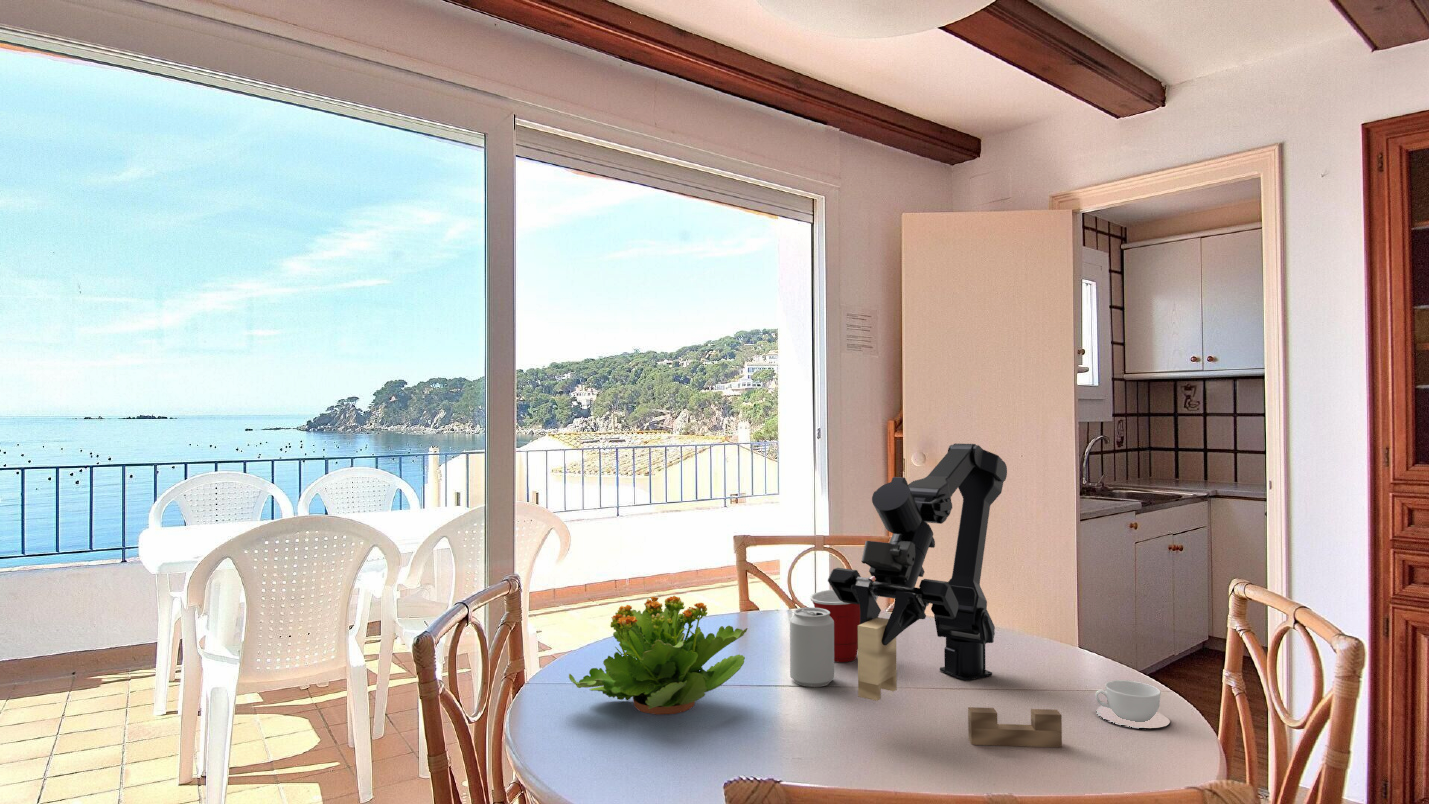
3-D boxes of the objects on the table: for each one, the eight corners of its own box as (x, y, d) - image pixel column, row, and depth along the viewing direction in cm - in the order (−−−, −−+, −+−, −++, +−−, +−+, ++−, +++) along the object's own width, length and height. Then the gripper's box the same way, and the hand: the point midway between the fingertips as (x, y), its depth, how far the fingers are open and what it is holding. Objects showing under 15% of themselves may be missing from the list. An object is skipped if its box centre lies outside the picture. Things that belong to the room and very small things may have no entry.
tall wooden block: (877, 685, 121) (877, 617, 122) (896, 689, 120) (896, 620, 120) (858, 696, 117) (857, 625, 117) (877, 701, 115) (876, 628, 115)
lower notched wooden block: (971, 744, 113) (971, 712, 113) (968, 738, 115) (968, 707, 115) (1061, 747, 112) (1061, 714, 112) (1057, 741, 114) (1056, 709, 114)
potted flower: (645, 671, 146) (645, 572, 146) (769, 691, 136) (769, 584, 136) (559, 718, 124) (559, 601, 124) (700, 746, 113) (700, 618, 113)
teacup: (1163, 711, 126) (1162, 681, 126) (1177, 736, 117) (1177, 702, 117) (1091, 704, 129) (1091, 674, 129) (1099, 727, 120) (1099, 695, 120)
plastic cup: (804, 650, 159) (804, 587, 159) (860, 648, 160) (859, 586, 160) (816, 667, 148) (816, 600, 148) (875, 665, 149) (875, 599, 149)
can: (832, 689, 136) (832, 616, 136) (787, 687, 138) (787, 614, 138) (835, 675, 143) (835, 606, 144) (792, 673, 145) (792, 604, 145)
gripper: (833, 515, 127) (795, 599, 119) (949, 524, 116) (917, 619, 107) (858, 559, 133) (823, 642, 125) (971, 572, 122) (941, 665, 113)
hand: (872, 641), depth 117 cm, fingers closed on tall wooden block, 3 cm apart
